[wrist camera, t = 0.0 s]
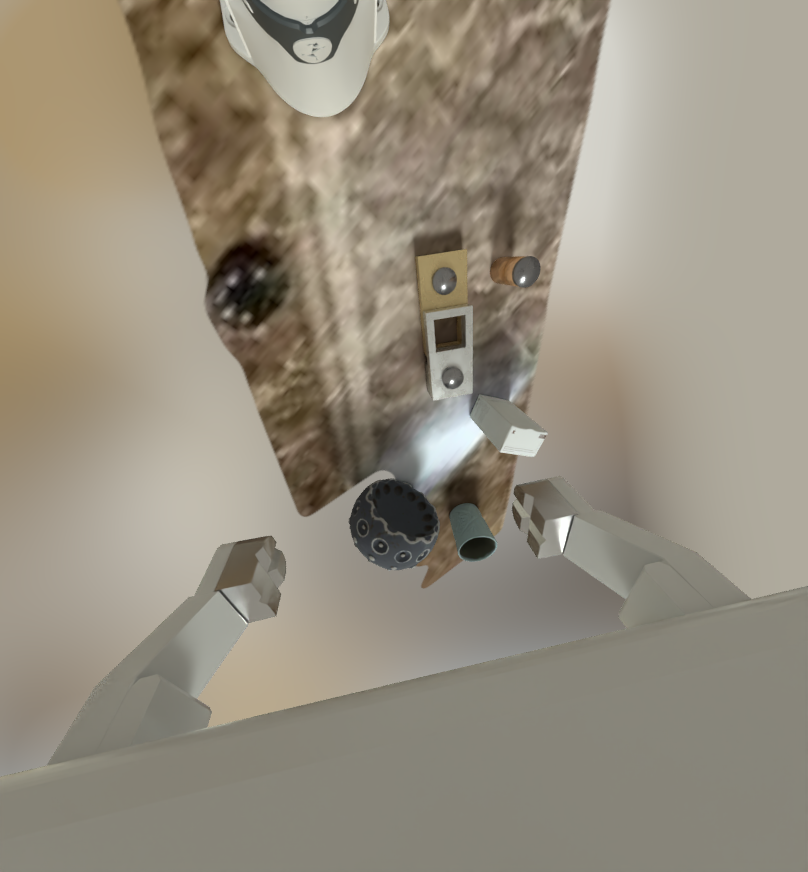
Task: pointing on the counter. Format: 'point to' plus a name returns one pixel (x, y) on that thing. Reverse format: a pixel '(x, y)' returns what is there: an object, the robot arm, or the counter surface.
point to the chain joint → (443, 299)
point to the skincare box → (507, 426)
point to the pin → (515, 271)
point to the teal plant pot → (471, 533)
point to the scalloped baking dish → (394, 525)
